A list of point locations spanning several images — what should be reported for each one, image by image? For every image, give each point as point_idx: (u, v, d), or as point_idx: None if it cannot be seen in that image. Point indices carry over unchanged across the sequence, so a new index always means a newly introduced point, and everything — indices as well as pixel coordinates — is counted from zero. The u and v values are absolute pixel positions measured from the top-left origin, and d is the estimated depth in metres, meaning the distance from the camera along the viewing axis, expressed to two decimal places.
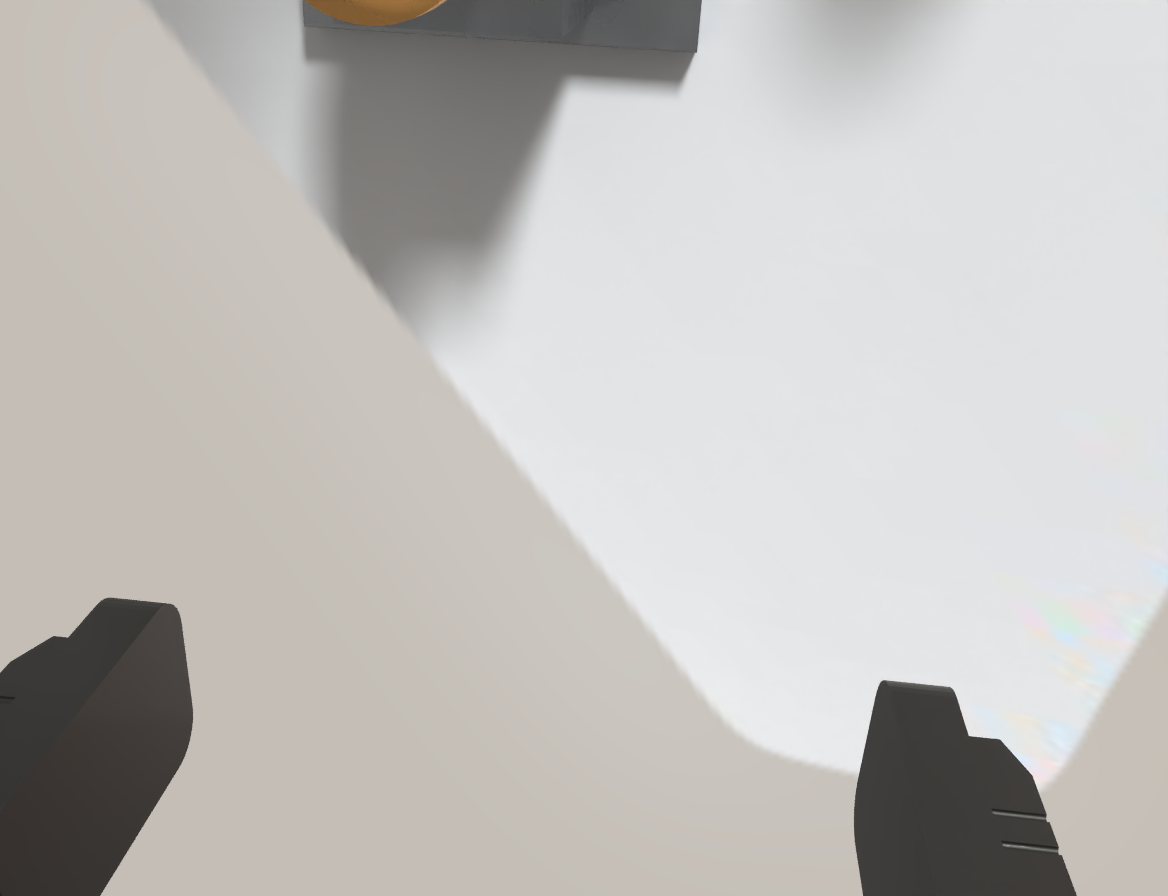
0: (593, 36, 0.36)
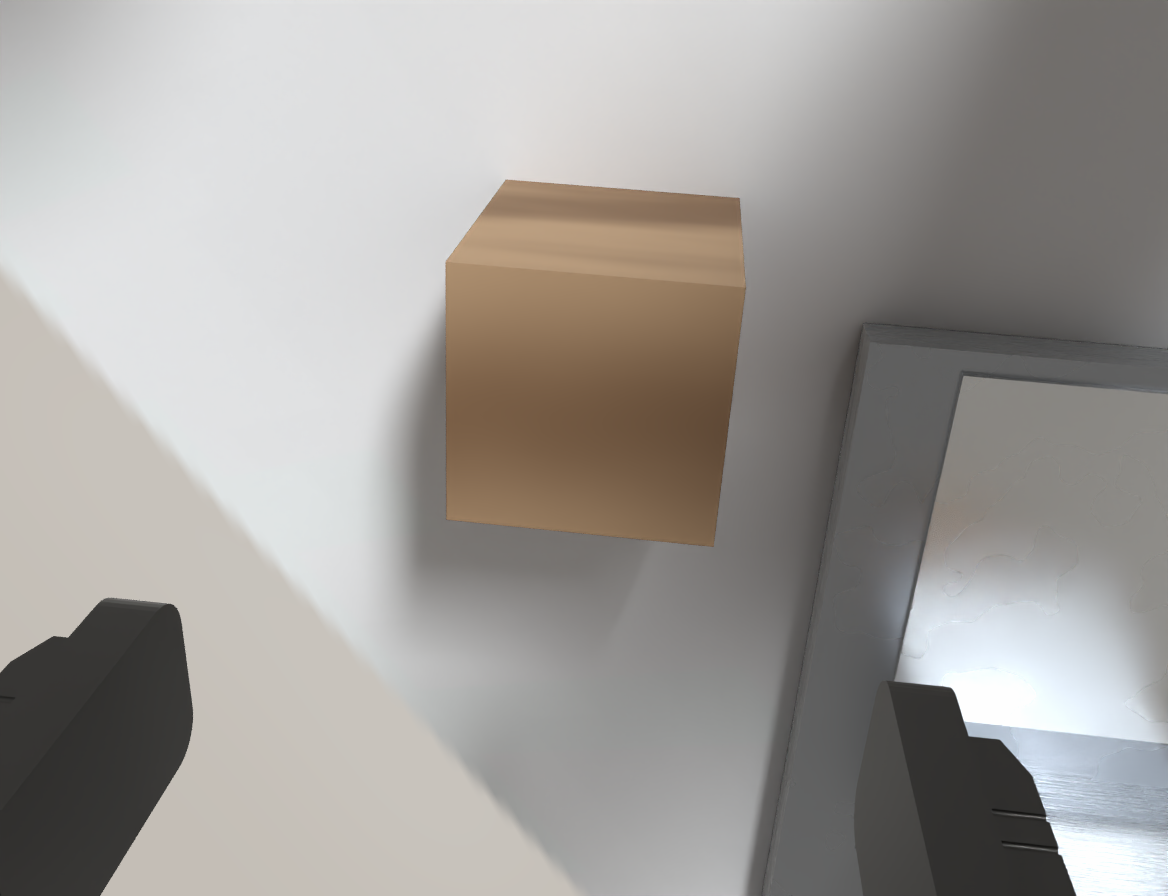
0: None
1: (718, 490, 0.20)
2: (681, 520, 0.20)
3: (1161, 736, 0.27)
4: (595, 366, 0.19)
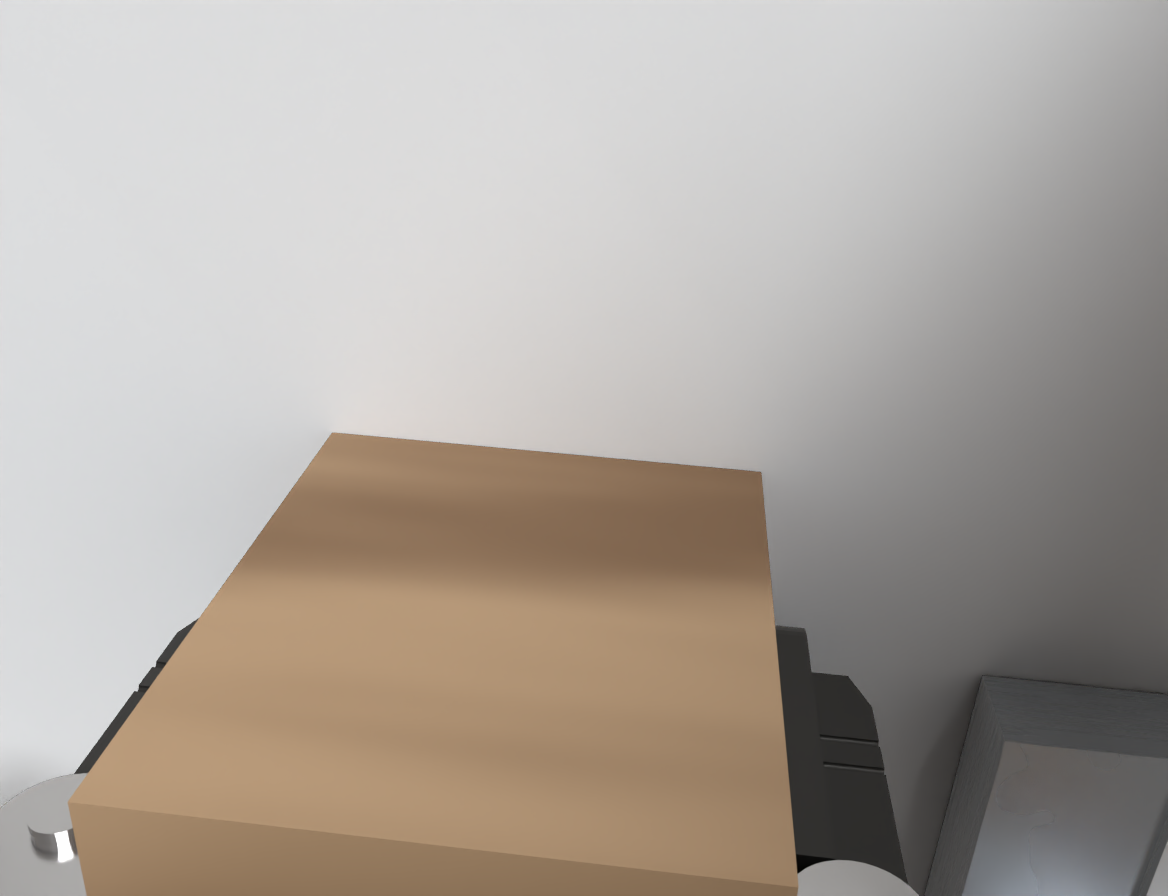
0: None
1: None
2: None
3: None
4: None
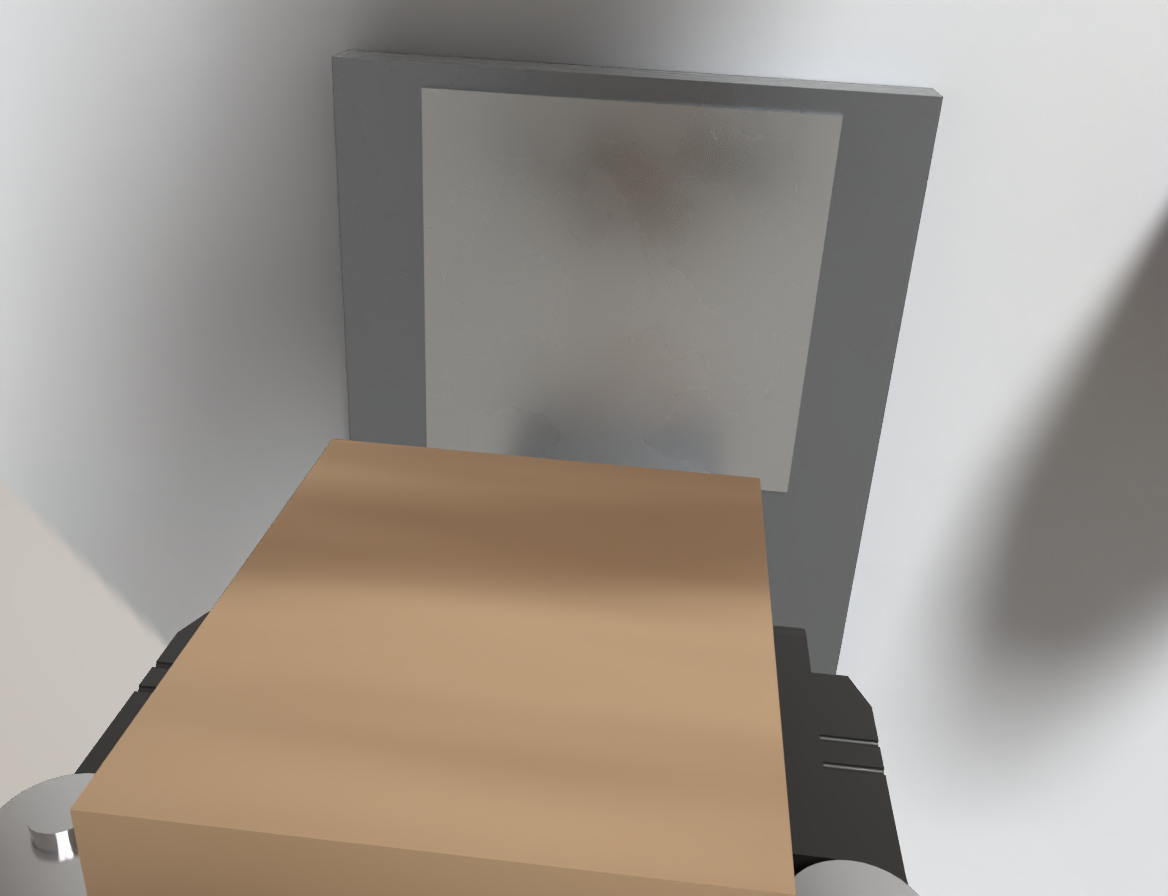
0: None
1: None
2: None
3: None
4: None
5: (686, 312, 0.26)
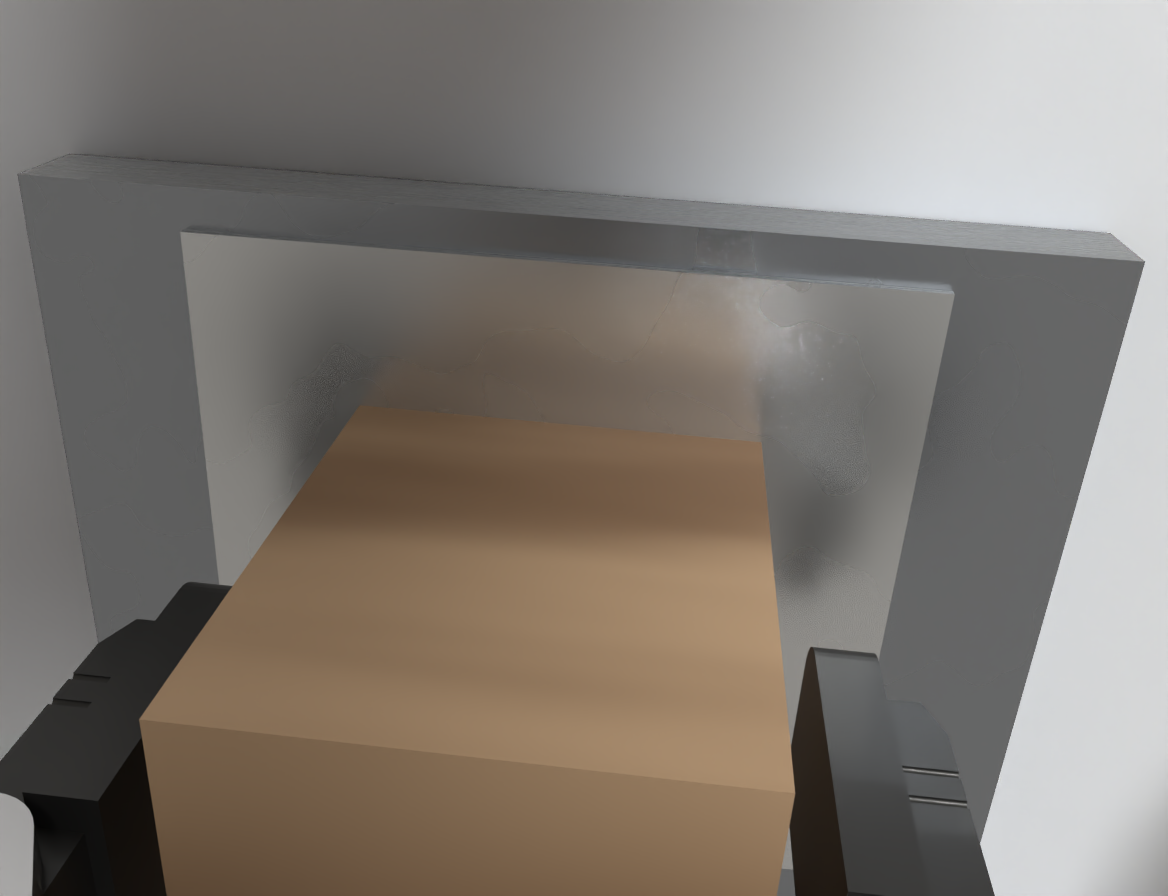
0: None
1: None
2: None
3: None
4: None
5: None
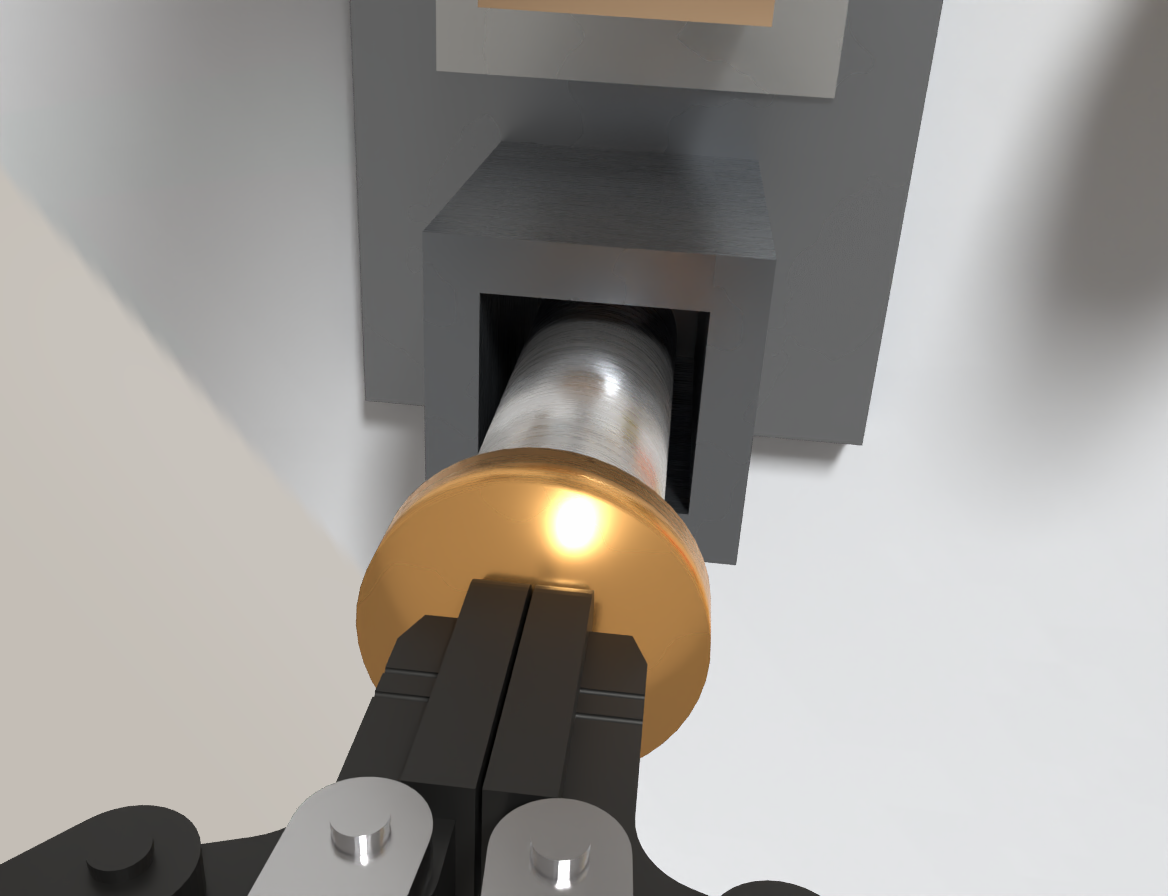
0: None
1: None
2: None
3: (722, 81, 0.25)
4: None
5: None
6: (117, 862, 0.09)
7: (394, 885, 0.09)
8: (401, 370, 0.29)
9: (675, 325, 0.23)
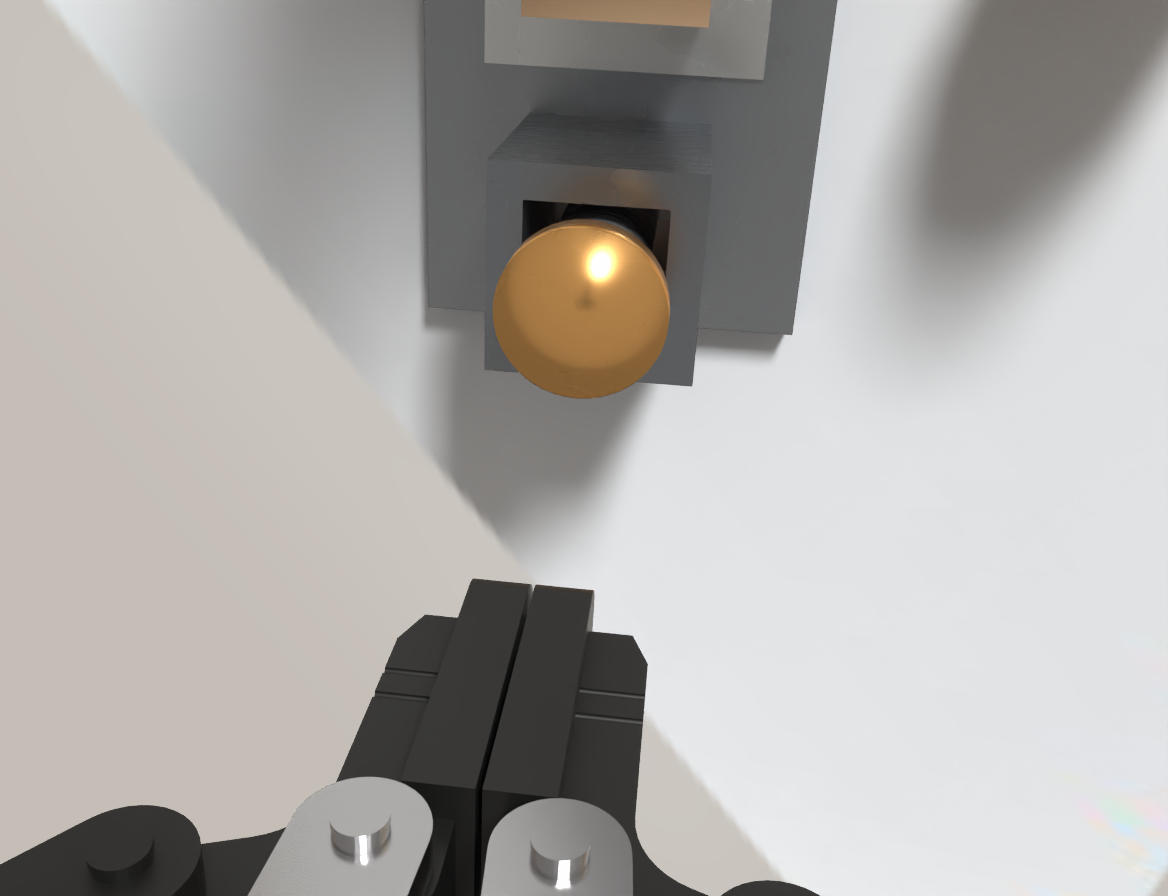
0: None
1: None
2: (686, 6, 0.29)
3: (685, 68, 0.36)
4: None
5: None
6: (117, 862, 0.09)
7: (394, 886, 0.09)
8: (455, 283, 0.40)
9: None
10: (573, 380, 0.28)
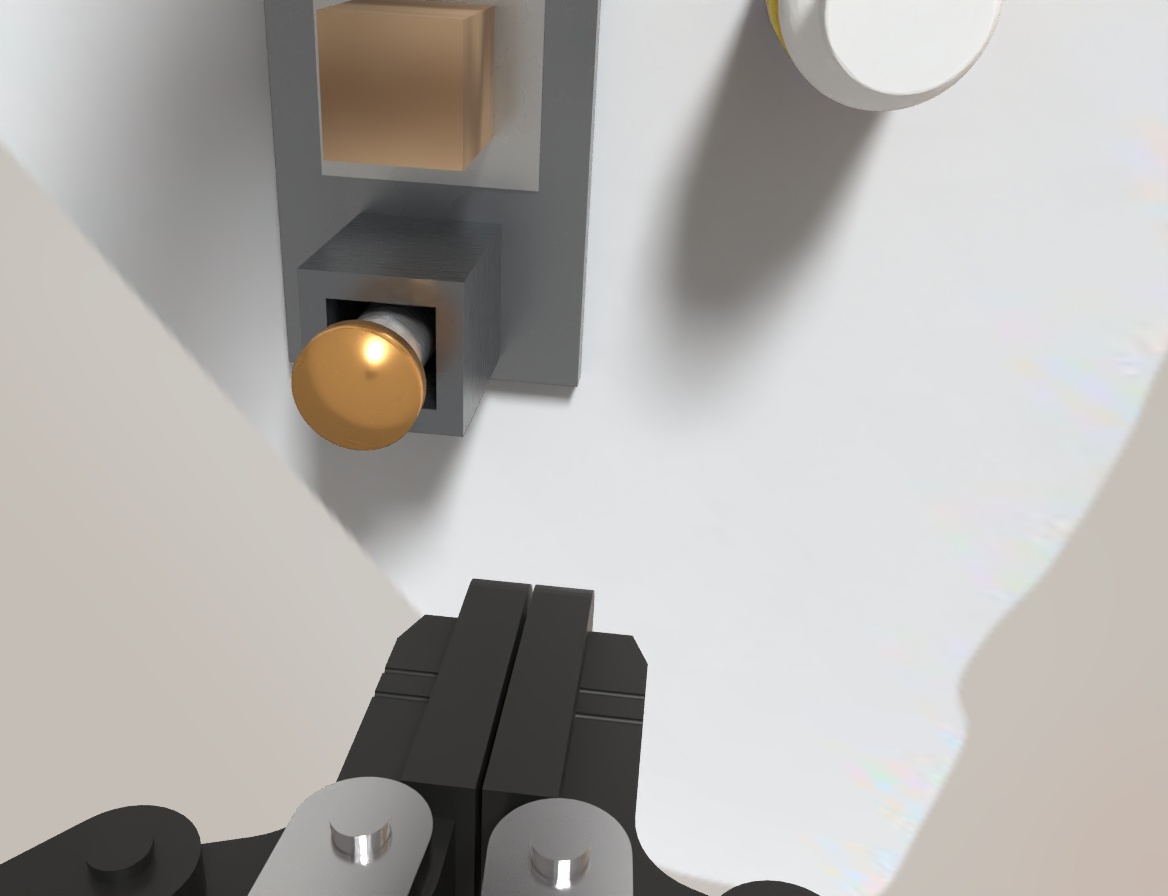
0: (501, 374, 0.49)
1: (461, 137, 0.39)
2: (445, 155, 0.39)
3: (477, 181, 0.45)
4: (393, 66, 0.38)
5: None
6: (118, 862, 0.09)
7: (394, 885, 0.09)
8: None
9: None
10: (354, 436, 0.38)
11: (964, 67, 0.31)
